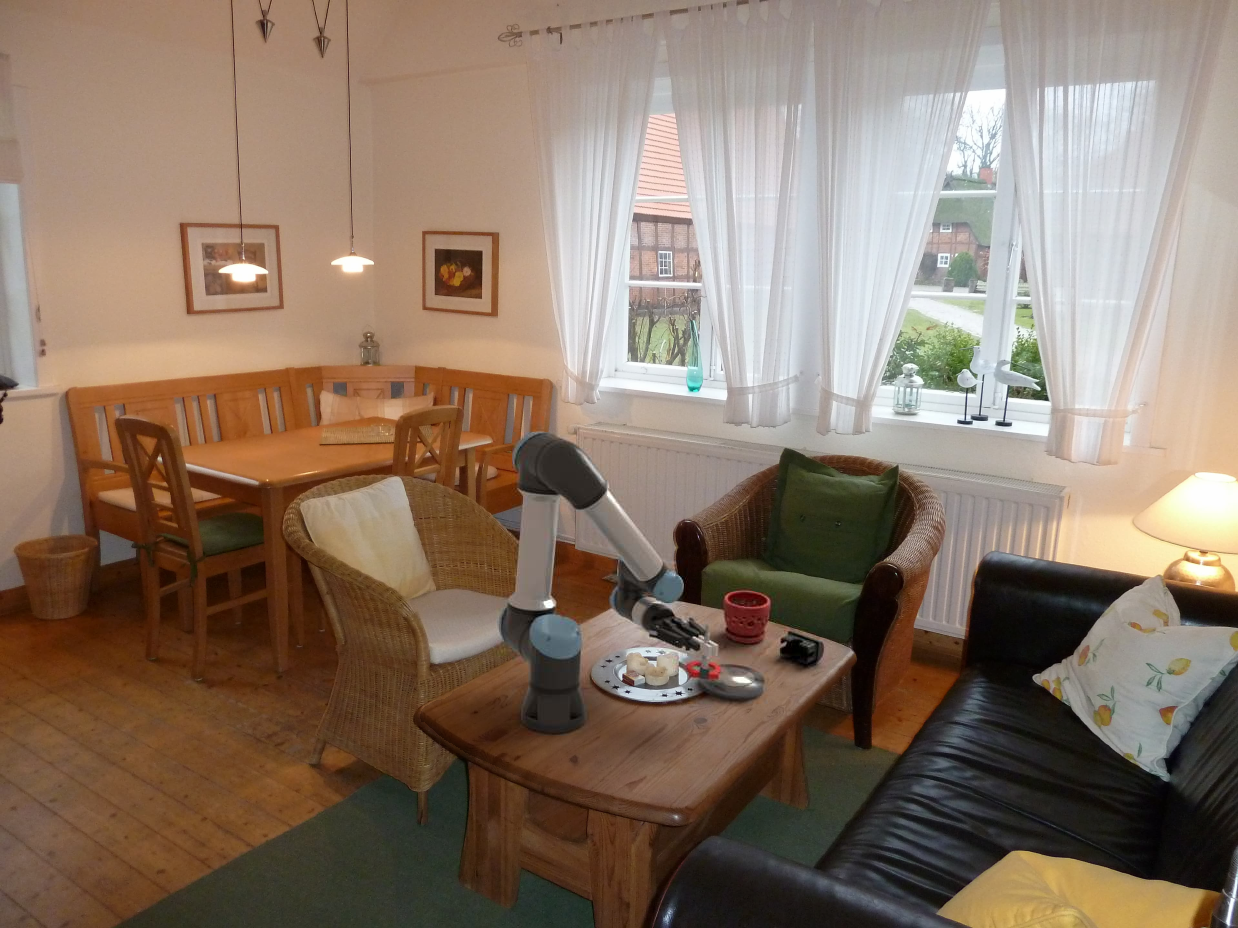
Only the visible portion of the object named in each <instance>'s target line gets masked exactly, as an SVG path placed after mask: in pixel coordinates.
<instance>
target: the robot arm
mask: <svg viewBox="0 0 1238 928" xmlns="http://www.w3.org/2000/svg"><path fill="white" fill-rule="evenodd" d="M511 457H512V465H513V467H514V469H515V471H516V472H517V473H518V477H517V478H518V479H517V490H518V491H519V493H520V494H521V495H522V498H523V499H522V508H521V519H520V521H521V522H520V531H519V532H520V533H519V542H518V545H519V546H518V554H517V565H516V577H515V589H514V593H513V594H511V595H510V596H509V597H508V598H507V604H506V605H505V608H504V609H502V611H501V613H500V614H499V616H498V617H499V618H498V623H497V625H498V632H499V634H500V637H501V639H502V640H503V642H504V643H505V644H506V646H507V647H509V649H511V650H512V651H513V652H515V653H516V654H517V655H518V656H519V657H520V658H521V659H523V660H524V661H525V662H526V663H527V664H528V665H529V673H528V674H529V676H528V677H529V682H528V684H529V686H528V689H527V691H526V694H525V697H524V700H523V703H522V705H521V710H520V721H521V722H522V724H523V725H524V726H525V727H527V729H531V730H533V731H536V732H538V733H545V734H562V733H563V734H564V733H568V732H573V731H575V730H577V729H579V728H581V727H582V726H583V725H584V724H585V723H586V720H587V707H586V704H585V701H584V697H583V694H582V691H581V690H582V689H581V686H580V682H581V657H582V656H581V655H582V646H583V642H582V641H583V639H582V630H581V628H580V626H579V624H578V623H577V622H576V621H574V619H572V618H570V617H567V616H562V615H561V614H556V609H557V601H556V600H555V598H553V596H552V595H551V594H552V586H553V585H552V584H553V575H554V574H553V573H554V566H555V565H554V563H555V552H556V541H557V534H558V533H557V532H558V531H557V530H558V522H559V521H558V520H559V512H560V511H559V509H560V502H561V501H560V500H561V499H562V498H564V499H565V500H566V501H567V502H568V503H569V504H570V505H571V506H572V508H573V509H575V510H576V511H582V513H583V514H584V515H585V517H587V519H588V520H589V521H590V522H591V524H592V526H594V527H595V528H596V530H597V531H598V533H599V534H600V535H601V536H602V538H604V539H605V541H606V542H607V543H608V545H609V547H611V549H613V551H614V552H615V553H616V555H617V556H618V560H617V579H618V580H617V586H616V587H615V588H613V590H612V591H611V595H610V596H609V605H610V607H611V609H612V610H613V611H614V612H616V613H617V614H618V615H619V616H621V617H623V618H625V619H627V620H629V621H630V622H632V623H634V624H636V625H637V626H638V627H640V628H642V629H643V630H645V631H646V632H648V637H649V638H653V639H657V640H659V641H662V642H665V643H666V644H669V645H670V646H672V647H676V648H678V649H682V648H683V647H685V651H687V652H690V651H691V650H693V651H696V652H697V653H699V654H700V655H702V656H703V655H704V656H706V657H707V658H709V659H711V658H712V657H718V655H719V644H718V643H716V642H715V641H712V640H711V639H709V644H707V643H705V642H704V634H705V633H706V628H703V627H702V626H701V625H699V624H698V623H697V622H696V621H695V618H694V617H688V619H687V620H683V618H681V617H677V616H676V615H675V613H674V611H673V610H672V609H671V608H670V607H668V606H666V605H664V604H672V603H675V602H677V601H678V599H680V597H682V594H683V592H684V581H683V579H682V577H681V576H679V574H677V573H676V572H675V571H672V570H671V569H670V568H669V567H668V566H667V564H666V563H665V562H664V561H663V559H662V558H661V556H660V555H658V553H657V552H656V551H655V549H654V548H653V546H652V544H650V543H649V541H648V540H647V539H646V538H645V536H644V535H643V534H642V532H641V531H640V529H638V527H637V526H636V524H635V523H634V522H633V521H632V519H631V518H630V517H629V515H628V514H627V512H626V511H625V510H624V508H622V506H621V505H620V504H619V502H618V501H617V499H615V497H614V496H613V495H612V493H611V492H610V491H609V487H610V486H609V485H610V484H609V482H608V481H607V479H606V477H605V476H603V474H602V473H601V471H600V470H599V469H598V467H597V466H596V465H595V463H594V462H593V460H591V458H590V457H589V455H587V453H586V452H585V451H584V450H583V449H582V448H581V447H580V446H579V445H577V444H575V443H574V442H572V441H570V440H567V439H564V438H562V437H559V436H557V435H555V434H554V433H551V432H546V431H538V430H537V431H532V432H529V433H527V434H525V435H524V436H523V437H521V439H519V441H518V442H517V443H516V445H515V446H514V449H513V451H512V456H511ZM648 595H649V596H648ZM650 596H651V597H652V598H651V597H650ZM653 598H654V599H653ZM662 603H663V604H662Z"/></svg>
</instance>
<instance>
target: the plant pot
mask: <svg viewBox="0 0 1238 928" xmlns="http://www.w3.org/2000/svg"><path fill="white" fill-rule="evenodd" d="M741 600H744V602H743V603H742V602H741ZM734 602H736V603H737V604H734ZM749 603H750V604H749ZM770 611H771V599H770V598H769V597H768V596H766V595H765V594H763V593H760V592H756V591H751V590H736V591H731V592H729V593H727V594H726V595H725V596H724V598H723V617H724V623H725V625H726V627H725V629H724V632H725V634H726V636H727V637H728V638H729V639H731V640H732V641H734V642H738V643H743V644H752V643H758V642H761V641H762V640H763V639H764V638H765V637H766V633H767V632H766V630H765V629H766V627H767V625H768V622H769V617H770Z"/></svg>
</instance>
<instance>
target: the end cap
mask: <svg viewBox="0 0 1238 928" xmlns="http://www.w3.org/2000/svg"><path fill="white" fill-rule="evenodd" d="M779 641H780V644H781V645H782V644H785V643H786V644H785V645H783V646H781V647H780V648H779V654H780V656H779V658H780V659H781V660H783V661H786V662H789V663H791V664H795V665H796V666H800V667H802V668H804V669H809V668H811V667H814V666H815V665H816V664H818V663H819V662H821V661H820V660H822V658H823V655H824V652H825V646H824V643H823V641H822V640H819V639H816V638H813V637H809V636H807V635H804V634H801V633H798V632H796V631H793V630H788V631H787V635H786V636H785V635H784V636H782V637H781V638H780V640H779Z"/></svg>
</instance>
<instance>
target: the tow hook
mask: <svg viewBox="0 0 1238 928" xmlns="http://www.w3.org/2000/svg"><path fill="white" fill-rule="evenodd" d="M705 630H706V633H705V634H704V642H705V643H707V644H709V640H710V635H711V634H710V625H709V624H706V625H705ZM719 665H720V664H718V663H715V662H712V661H710V658H707V657H706V656H704V655H702V657H701V660H692V661H689V662H687V663H685V670H686V672H687V673H689V678H691V679H692V678H693V679H699V680H701V679H717V680H718V678H719V674H721V672H722V669H721V667H720V666H719ZM695 667H699V670H697V669H695ZM709 667H711V668H713V669H714V671H710V672H709Z"/></svg>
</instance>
